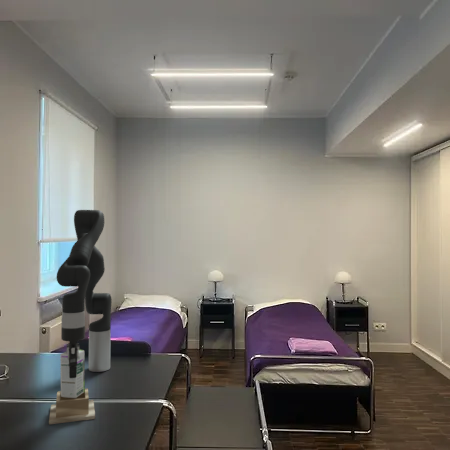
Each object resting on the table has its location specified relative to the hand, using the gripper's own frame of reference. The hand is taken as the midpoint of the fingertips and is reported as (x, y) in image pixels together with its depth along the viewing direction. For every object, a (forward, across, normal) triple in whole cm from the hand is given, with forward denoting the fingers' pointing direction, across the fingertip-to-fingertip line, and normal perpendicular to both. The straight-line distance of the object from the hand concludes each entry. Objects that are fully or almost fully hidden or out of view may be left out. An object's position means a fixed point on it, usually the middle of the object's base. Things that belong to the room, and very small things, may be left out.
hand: (72, 373), depth 149 cm
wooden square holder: (+13, 0, 0) cm, 13 cm away
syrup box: (+7, 0, 0) cm, 7 cm away
